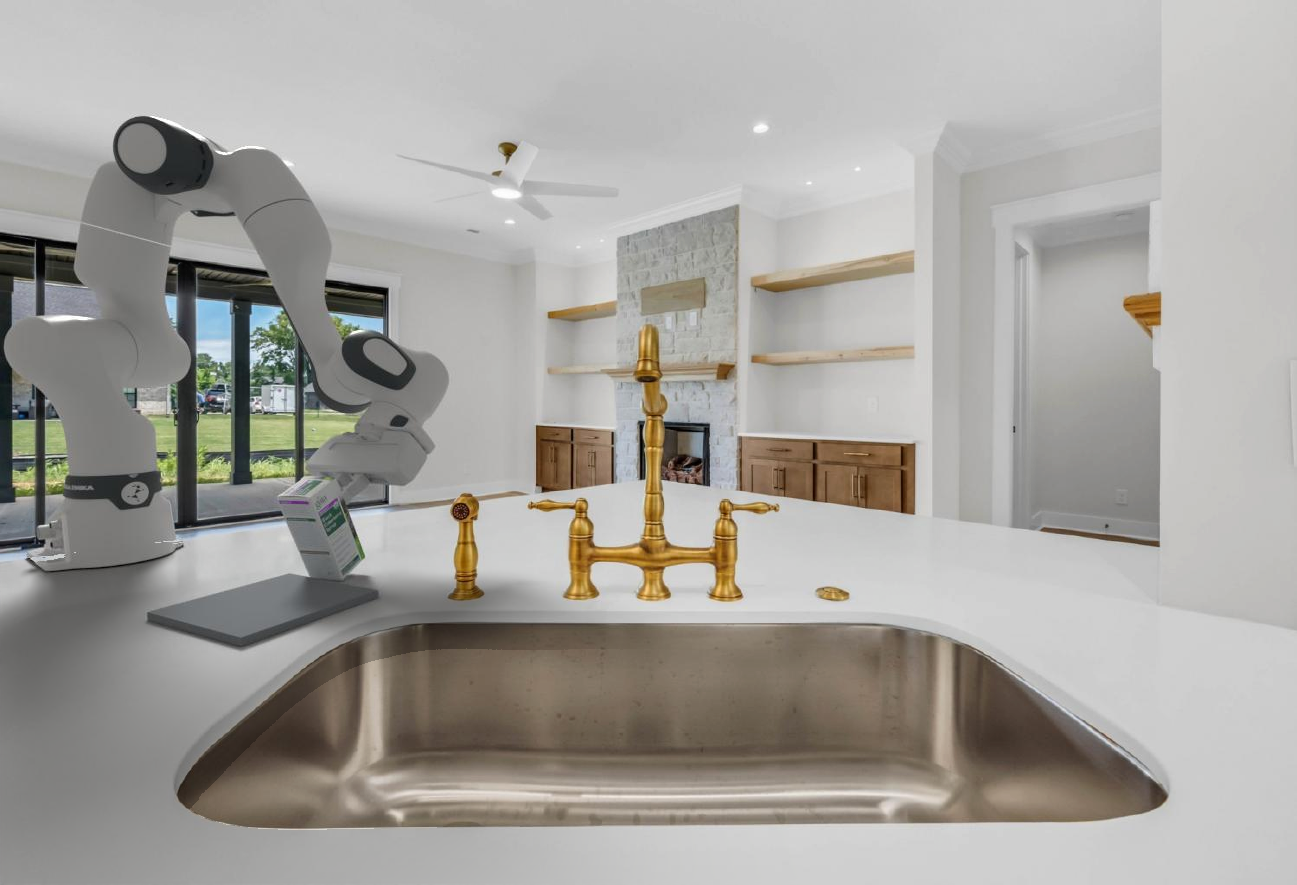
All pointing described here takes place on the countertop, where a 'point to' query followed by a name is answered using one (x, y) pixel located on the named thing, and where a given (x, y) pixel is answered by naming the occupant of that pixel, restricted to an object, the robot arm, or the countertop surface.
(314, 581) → the slate mat
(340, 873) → the countertop surface
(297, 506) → the syrup box
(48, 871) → the countertop surface
